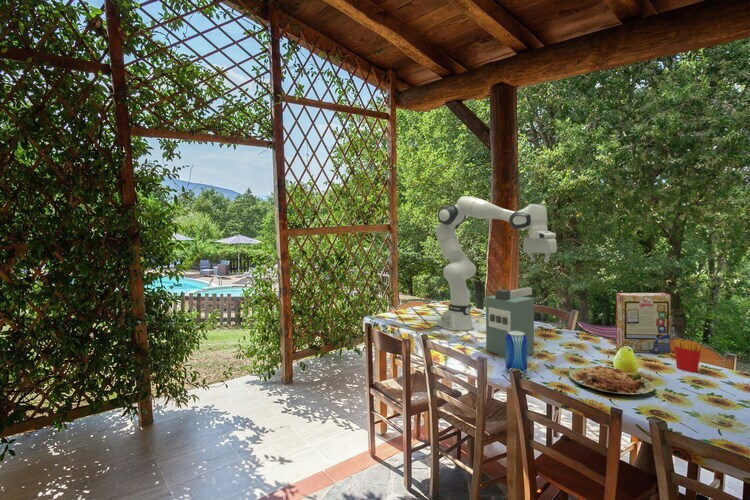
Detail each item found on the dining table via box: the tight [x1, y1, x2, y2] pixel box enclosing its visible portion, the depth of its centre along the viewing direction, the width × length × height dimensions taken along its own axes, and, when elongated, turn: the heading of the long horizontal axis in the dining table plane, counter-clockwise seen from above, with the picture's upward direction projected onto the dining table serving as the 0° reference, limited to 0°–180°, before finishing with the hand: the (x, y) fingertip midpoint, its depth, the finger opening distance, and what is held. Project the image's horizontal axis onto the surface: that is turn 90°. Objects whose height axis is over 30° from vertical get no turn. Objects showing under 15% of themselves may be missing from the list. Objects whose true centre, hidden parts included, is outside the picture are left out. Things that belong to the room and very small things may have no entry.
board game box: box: [615, 292, 672, 354], centre depth 177 cm, size 20×6×27 cm, turn 80°
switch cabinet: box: [485, 295, 535, 358], centre depth 179 cm, size 16×16×26 cm
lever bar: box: [494, 287, 533, 301], centre depth 181 cm, size 5×22×4 cm, turn 124°
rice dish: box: [568, 365, 656, 395], centre depth 144 cm, size 28×28×5 cm
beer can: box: [504, 331, 528, 375], centre depth 157 cm, size 8×8×16 cm
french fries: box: [673, 338, 702, 374], centre depth 154 cm, size 8×4×12 cm, turn 33°
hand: (539, 261), depth 195 cm, fingers open, 8 cm apart
